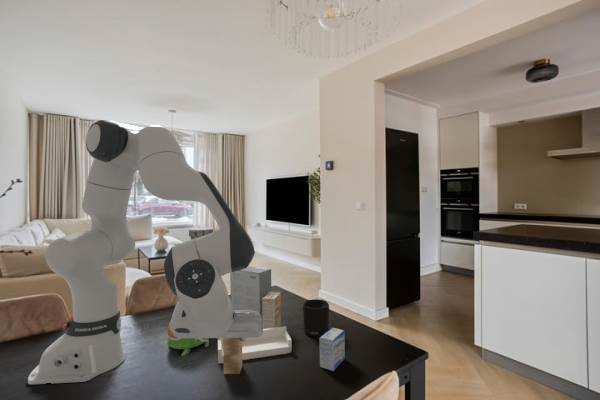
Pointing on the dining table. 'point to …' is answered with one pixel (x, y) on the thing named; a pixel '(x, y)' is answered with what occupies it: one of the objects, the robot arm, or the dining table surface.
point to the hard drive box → (249, 288)
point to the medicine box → (332, 349)
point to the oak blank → (232, 355)
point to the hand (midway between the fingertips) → (224, 338)
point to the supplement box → (271, 310)
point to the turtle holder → (183, 342)
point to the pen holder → (315, 317)
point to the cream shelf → (263, 344)
